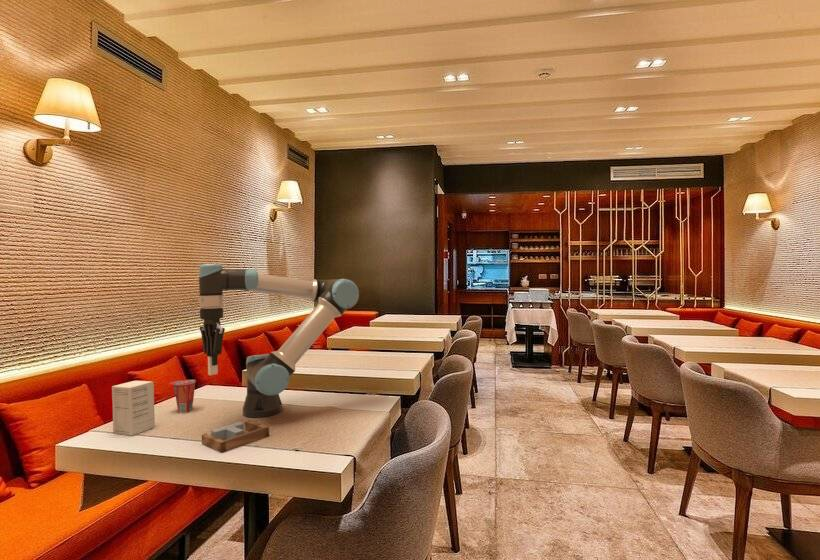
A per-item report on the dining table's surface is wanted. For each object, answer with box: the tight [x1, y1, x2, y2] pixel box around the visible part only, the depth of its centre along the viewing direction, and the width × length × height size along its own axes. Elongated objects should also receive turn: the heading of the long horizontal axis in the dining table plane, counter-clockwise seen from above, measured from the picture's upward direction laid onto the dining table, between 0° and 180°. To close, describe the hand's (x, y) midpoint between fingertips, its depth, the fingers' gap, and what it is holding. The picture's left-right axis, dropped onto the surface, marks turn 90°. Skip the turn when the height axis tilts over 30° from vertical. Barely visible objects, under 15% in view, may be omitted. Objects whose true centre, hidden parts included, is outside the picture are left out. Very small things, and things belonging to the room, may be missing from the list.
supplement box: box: [111, 380, 156, 437], centre depth 152 cm, size 10×9×17 cm
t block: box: [210, 421, 245, 440], centre depth 142 cm, size 9×10×4 cm
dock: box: [201, 420, 270, 454], centre depth 141 cm, size 12×17×3 cm
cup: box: [168, 379, 197, 414], centre depth 174 cm, size 9×8×12 cm
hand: (212, 374), depth 150 cm, fingers closed
